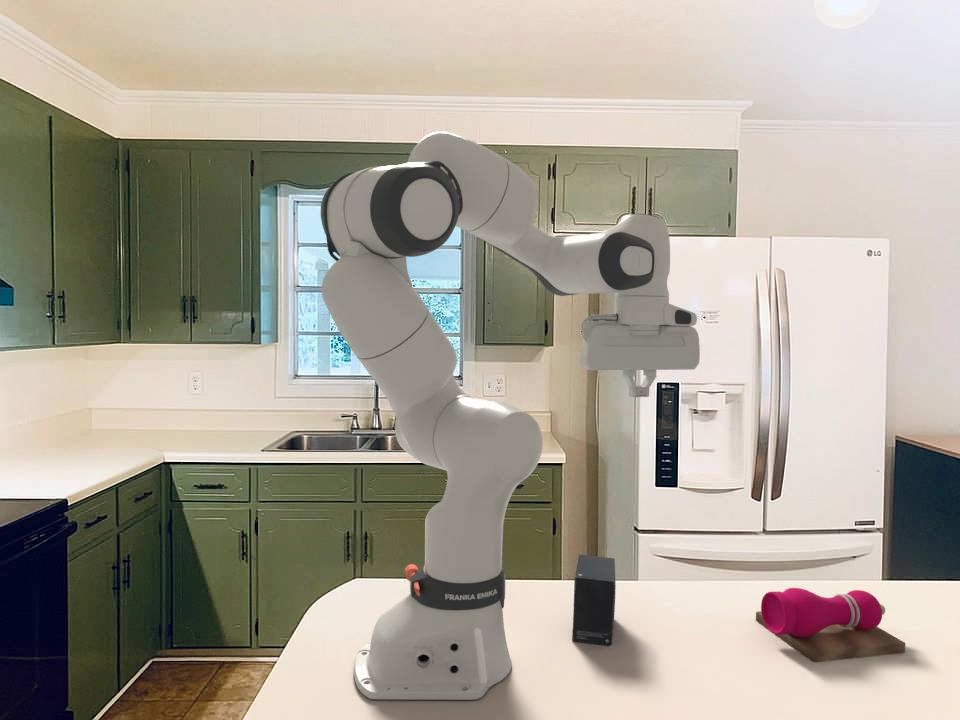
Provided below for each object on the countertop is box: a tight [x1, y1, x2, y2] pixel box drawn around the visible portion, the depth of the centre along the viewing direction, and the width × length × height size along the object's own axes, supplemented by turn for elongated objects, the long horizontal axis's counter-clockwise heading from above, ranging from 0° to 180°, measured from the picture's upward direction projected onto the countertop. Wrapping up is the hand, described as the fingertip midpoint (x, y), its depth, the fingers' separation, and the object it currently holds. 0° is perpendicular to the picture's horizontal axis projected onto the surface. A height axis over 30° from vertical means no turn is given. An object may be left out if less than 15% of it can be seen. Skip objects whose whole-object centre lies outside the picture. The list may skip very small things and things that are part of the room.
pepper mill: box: [760, 587, 886, 637], centre depth 107 cm, size 7×7×20 cm
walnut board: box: [755, 610, 906, 663], centre depth 109 cm, size 16×14×2 cm
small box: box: [571, 554, 617, 646], centre depth 110 cm, size 11×6×10 cm, turn 168°
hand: (638, 396), depth 114 cm, fingers closed
